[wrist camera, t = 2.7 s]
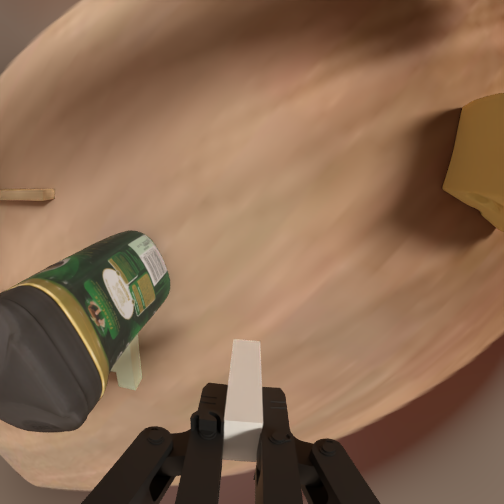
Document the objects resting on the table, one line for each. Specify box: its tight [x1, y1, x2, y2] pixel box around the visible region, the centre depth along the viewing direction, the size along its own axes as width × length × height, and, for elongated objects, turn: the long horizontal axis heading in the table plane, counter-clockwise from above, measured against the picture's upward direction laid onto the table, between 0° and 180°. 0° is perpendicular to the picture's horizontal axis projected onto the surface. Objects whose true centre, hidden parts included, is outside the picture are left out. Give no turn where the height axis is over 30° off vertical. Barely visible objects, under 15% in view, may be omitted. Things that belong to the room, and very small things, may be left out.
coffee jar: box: [0, 231, 170, 432], centre depth 18 cm, size 10×8×19 cm
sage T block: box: [111, 334, 142, 390], centre depth 28 cm, size 6×6×2 cm
